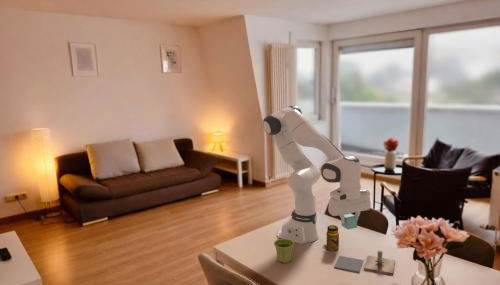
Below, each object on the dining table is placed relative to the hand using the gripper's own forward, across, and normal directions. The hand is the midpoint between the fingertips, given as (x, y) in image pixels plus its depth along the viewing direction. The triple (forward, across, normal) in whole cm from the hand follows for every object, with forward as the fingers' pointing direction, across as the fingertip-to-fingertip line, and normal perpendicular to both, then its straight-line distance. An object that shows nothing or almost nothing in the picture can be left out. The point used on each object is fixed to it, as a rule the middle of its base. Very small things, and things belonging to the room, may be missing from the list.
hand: (349, 221), depth 158 cm
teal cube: (+2, 0, 0) cm, 3 cm away
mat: (+21, 0, 0) cm, 21 cm away
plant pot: (+21, +26, -16) cm, 37 cm away
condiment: (+21, -1, -16) cm, 27 cm away
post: (+21, -12, +7) cm, 25 cm away
